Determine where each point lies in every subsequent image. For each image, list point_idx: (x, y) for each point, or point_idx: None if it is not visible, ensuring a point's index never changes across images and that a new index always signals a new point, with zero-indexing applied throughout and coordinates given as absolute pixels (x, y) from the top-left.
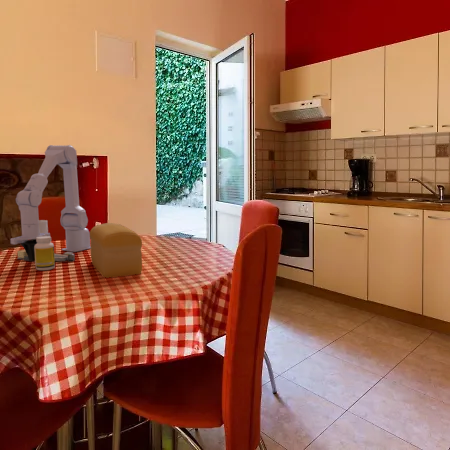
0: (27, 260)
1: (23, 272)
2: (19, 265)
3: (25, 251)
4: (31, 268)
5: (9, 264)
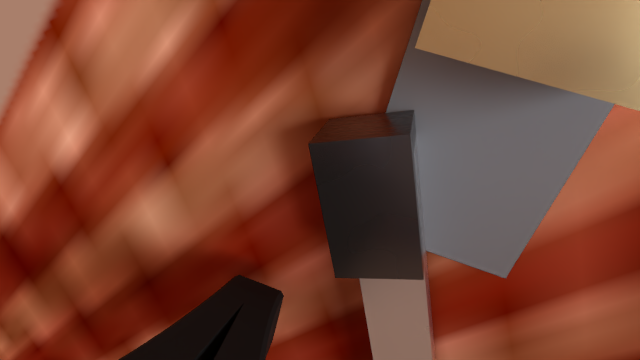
0: None
1: (34, 347)
2: (139, 202)
3: (495, 60)
4: (127, 352)
5: (107, 44)
